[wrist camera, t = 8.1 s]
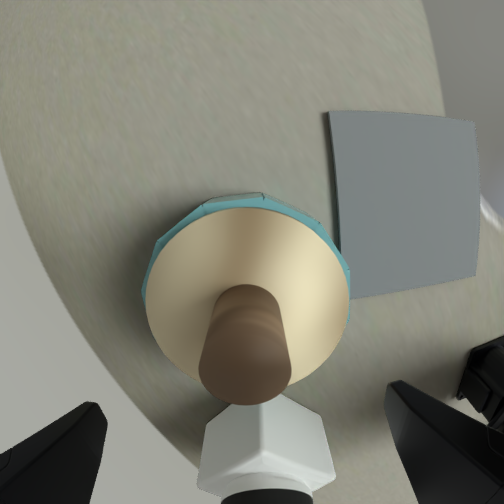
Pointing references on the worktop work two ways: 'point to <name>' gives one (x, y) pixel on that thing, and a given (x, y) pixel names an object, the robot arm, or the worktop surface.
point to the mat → (405, 199)
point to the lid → (247, 302)
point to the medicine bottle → (265, 454)
